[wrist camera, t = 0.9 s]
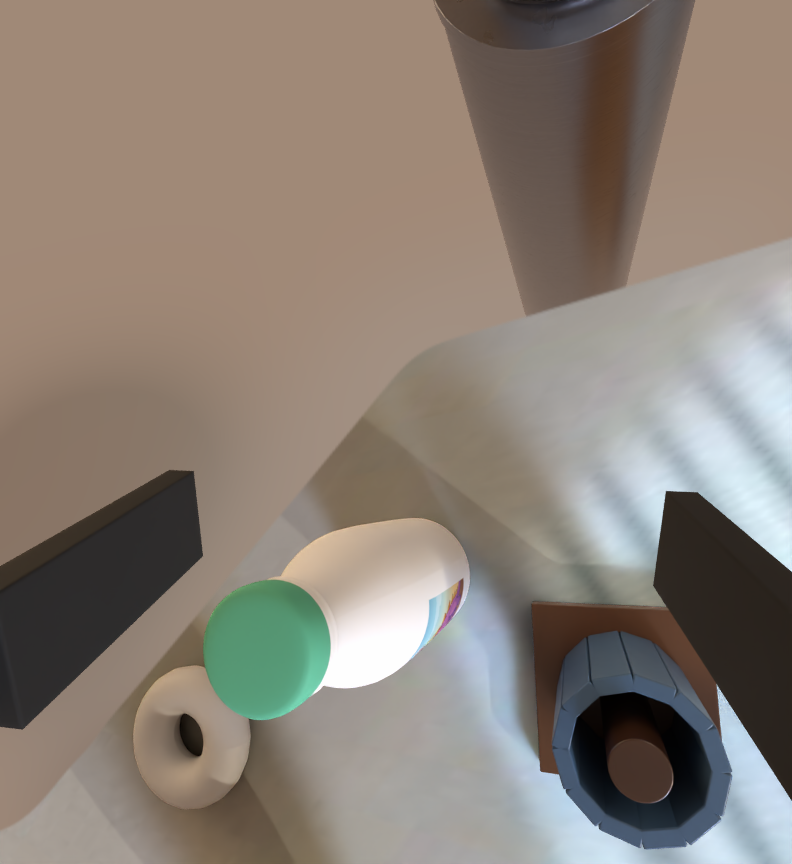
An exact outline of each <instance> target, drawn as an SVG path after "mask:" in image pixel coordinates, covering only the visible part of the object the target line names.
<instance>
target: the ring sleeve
mask: <svg viewBox="0 0 792 864" xmlns="http://www.w3.org/2000/svg"><path fill="white" fill-rule="evenodd" d="M633 691H634V692H636V693H639V694H642V695H645V696H647V697H650V698H653V699H656V700H658V701H661V702H664V703H667V704H669V705H670V706H671V707H672V708H673V709H674V710H675V714H674V718H673V723H672V727H671V728H670V729H669V730H668V731H667V732H665V733H664V734H663V735H662V736H661V738H662V740H663V743H664V746H665V749H666V752H667V755H668V757H669V760H670V763H671V766H672V769H673V775H674V780H673V786H672V788H671V791H670V792H669V794H668V795H667V796H666V797H665V798H664V799H662V800H660V801H658V802H655V803H640V802H636V801H634V800H631V799H630V798H628V797H626V796H625V795H624V794H622V793H621V792H620V791H619V790H618V789H617V787H616V786H615V785H614V783H613V782H612V780H611V778H610V775H609V772H608V766H607V757H606V748H605V740H604V739H603V738H601V737H598V736H597V734H596V733H595V732H594V731H593V730H592V729H591V728H590V727H589V726H588V725H587V724H586V723H585V722H584V720H583V719H582V718H581V717H580V716H579V715H580V714H581V713H582V712H583V711H585V710H586V709H587V708H588V707H589V706H590V705H591V704H592V703H593V702H594V701H596V700H597V699H598V698H599V697H600V696H606V695H613V694H620V693H626V692H633ZM552 751H553V755H554V758H555V762H556V765H557V768H558V772H559V775H560V779H561V782H562V786H563V788H564V789H566V793H567V795H568V796H569V797H570V798H571V799H572V800H573V801H574V803H575V804H576V805H577V806H578V807H579V808H580V810H581V811H582V812H583V813H584V814H585V815H586V816H587V818H588V819H589V820H590V821H591V822H592V823H593V824H594V826H597V825H598V824H599V829H600V830H601V831H603V832H606V833H608V834H610V835H612V836H614V837H617V838H619V839H621V840H623V841H625V842H627V843H630V844H632V845H634V846H636V847H638V848H641V846H642V844H643V847H644V849H660V848H675V847H686V846H687V843H686V841H687V842H688V843H689V844H690V845H692V844H693V843H694V842H695V841H697V840H698V839H699V838H700V837H702V836H703V835H704V834H705V833H706V832H708V831H709V830H710V829H711V828H712V827H714V826H715V825H716V824H717V823H719V822H720V821H721V818H720V816H723V815H724V812H725V807H726V803H727V798H728V794H729V789H730V785H731V780H732V775H731V773H730V772H732V769H731V766H730V763H729V761H728V758H727V755H726V752H725V749H724V746H723V744H722V741H721V738H720V735H719V732H718V729H717V728H716V726H715V724H714V723H713V721H712V719H711V718H710V716H709V714H708V713H707V711H706V709H705V708H704V706H703V704H702V703H701V701H700V699H699V698H698V696H697V694H696V693H695V691H694V689H693V688H692V686H691V684H690V683H689V681H688V680H687V678H686V676H685V675H684V673H683V671H682V670H681V668H680V667H679V666H678V665H677V664H676V663H675V662H674V661H673V660H672V659H671V658H670V657H669V656H668V655H667V654H666V653H665V652H664V651H663V650H662V649H661V648H660V647H659V646H658V645H657V644H655V643H652V641H650V640H647V639H644V638H641V637H638V636H635V635H632V634H629V633H626V632H623V631H620V633H618V631H612V632H606V633H601V634H595V635H590V636H588V639H587V638H586V637H585V638H584V639H583V640H582V641H581V642H580V643H578V644H577V645H576V646H575V647H574V648H573V649H572V650H571V651H570V652H569V653H568V654H567V655H566V656H565V658H564V659H563V664H562V668H561V672H560V676H559V681H558V685H557V694H556V705H555V715H554V725H553V736H552ZM719 815H720V816H719Z"/></svg>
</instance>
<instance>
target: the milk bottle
mask: <svg viewBox="0 0 792 864" xmlns="http://www.w3.org/2000/svg"><path fill="white" fill-rule="evenodd" d="M469 585H470V569H469V564H468V560H467V557H466V554H465V552H464V549H463V548H462V546H461V544H460V543H459V541H458V540H457V539H456V537H455V536H454V535H453V534H452V533H451V532H450V531H448V530H447V529H446V528H445V527H443V526H442V525H440V524H438V523H436V522H433V521H431V520H427V519H423V518H405V519H397V520H389V521H382V522H376V523H369V524H363V525H357V526H353V527H348V528H344V529H340V530H336V531H333V532H331V533H328V534H326V535H324V536H322V537H320V538H318V539H316V540H314V541H313V542H311V543H310V544H309V545H307V546H306V547H305V548H303V549H302V550H301V551H300V552H299V553H298V554H297V555H296V556H295V557H294V558H293V559H292V561H291V562H290V563H289V564H288V566H287V567H286V569H285V570H284V572H283V573H282V575H281V577H274V578H270V579H267V580H264V581H259V582H254V583H251V584H248V585H246V586H243V587H241V588H238V589H236V590H235V591H233V592H232V593H230V594H229V595H228V596H227V597H225V598H224V599H223V600H222V601H221V602H220V603H219V604H218V606H217V607H216V608H215V610H214V611H213V613H212V615H211V617H210V619H209V621H208V624H207V627H206V631H205V636H204V643H203V656H204V664H205V669H206V672H207V676H208V678H209V681H210V683H211V685H212V687H213V689H214V691H215V693H216V694H217V695H218V697H219V698H220V699H221V701H222V702H223V703H224V704H225V705H226V706H227V707H228V708H230V709H231V710H232V711H234V712H235V713H237V714H239V715H241V716H243V717H246V718H249V719H254V720H268V719H273V718H277V717H280V716H283V715H285V714H287V713H289V712H290V711H292V710H293V709H295V708H296V707H298V706H299V705H301V704H302V703H303V702H304V701H305V700H306V699H308V698H309V697H310V696H312V695H313V694H315V693H316V692H317V691H318V690H320V689H321V688H322V687H323V685H324V686H328V687H334V688H354V687H360V686H365V685H368V684H372V683H375V682H377V681H379V680H381V679H383V678H385V677H387V676H389V675H391V674H392V673H394V672H396V671H397V670H398V669H399V668H401V667H402V666H403V665H404V664H406V663H407V662H408V661H409V660H410V659H412V658H413V657H414V656H415V655H416V654H417V653H418V652H419V651H420V650H421V649H422V648H423V647H425V646H426V645H427V644H428V643H429V642H430V641H431V640H432V639H433V638H434V637H435V636H436V635H437V634H438V633H439V632H440V631H441V630H442V629H443V628H444V627H445V626H446V625H447V624H448V623H449V622H450V621H451V620H452V619H453V617H454V616H455V615H456V614H457V613H458V611H459V610H460V609H461V607H462V605H463V604H464V602H465V600H466V597H467V594H468V590H469Z"/></svg>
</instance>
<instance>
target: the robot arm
mask: <svg viewBox="0 0 792 864" xmlns="http://www.w3.org/2000/svg"><path fill="white" fill-rule="evenodd" d="M509 1H513V2H516V3H522V4H547V3H554V2H558V1H563V0H509ZM202 556H203V553H202V544H201V534H200V525H199V517H198V507H197V498H196V489H195V479H194V471H177V470H176V471H175V470H169V471H167V472H165V473H164V474H162V475H160V476H158V477H156V478H155V479H153V480H151V481H149V482H148V483H146V484H144V485H143V486H141V487H139V488H137V489H135V490H134V491H132V492H130V493H128V494H127V495H125V496H123V497H121V498H120V499H118V500H116V501H114V502H113V503H111V504H109V505H107V506H106V507H104V508H102V509H100V510H99V511H97V512H95V513H93V514H92V515H90V516H88V517H86V518H84V519H83V520H81V521H79V522H77V523H76V524H74V525H72V526H70V527H68V528H67V529H65V530H63V531H61V532H60V533H58V534H56V535H55V536H53V537H51V538H49V539H47V540H46V541H44V542H42V543H41V544H39V545H37V546H35V547H33V548H32V549H30V550H28V551H26V552H25V553H23V554H21V555H19V556H17V557H16V558H14V559H12V560H10V561H9V562H7V563H5V564H3V565H2V566H0V727H6V728H15V729H24V728H25V727H26V726H27V725H28V724H29V723H30V722H31V721H32V720H33V719H34V718H35V717H36V716H37V715H38V714H39V713H40V712H41V711H42V710H43V709H44V708H45V707H46V706H48V705H49V704H50V703H51V701H53V700H54V699H55V698H56V697H57V696H58V695H59V694H60V693H61V692H62V691H63V690H64V689H65V688H66V687H67V686H68V685H69V684H70V683H71V682H72V681H74V680H75V679H76V678H77V677H78V676H79V675H80V674H81V673H82V672H83V671H84V670H85V669H86V668H87V667H88V666H89V665H90V664H91V663H92V662H93V661H94V660H95V659H96V658H97V657H98V656H100V654H102V653H103V652H104V651H105V650H106V649H107V648H108V647H109V646H110V645H111V644H112V643H113V642H114V641H115V640H116V639H117V638H118V637H119V636H120V635H121V634H122V633H123V632H124V631H125V630H127V628H129V627H130V625H132V624H133V623H134V622H135V621H136V620H137V619H138V618H139V617H140V616H141V615H142V614H143V613H144V612H145V611H146V610H147V609H148V608H149V607H150V606H151V605H152V604H153V603H155V602H156V600H158V599H159V598H160V597H161V596H162V595H163V594H164V593H165V592H166V591H167V590H168V589H169V588H170V587H171V586H172V585H173V584H174V583H175V582H176V581H177V580H179V579H180V578H181V577H182V576H183V575H184V574H185V573H186V572H187V571H188V570H189V569H190V568H191V567H192V566H193V565H194V564H195V563H196V562H197V561H198V560H199V559H200V558H201V557H202ZM653 586H654V588H655V589H656V591H657V592H658V594H659V595H660V597H661V598H662V600H663V602H664V603H665V605H666V606H667V608H668V609H669V611H670V612H671V614H672V616H673V617H674V619H675V620H676V622H677V623H678V625H679V626H680V628H681V630H682V631H683V633H684V634H685V636H686V637H687V639H688V640H689V642H690V643H691V645H692V647H693V648H694V650H695V651H696V653H697V654H698V656H699V657H700V659H701V661H702V662H703V664H704V665H705V667H706V668H707V670H708V671H709V673H710V675H711V676H712V678H713V679H714V681H715V682H716V684H717V685H718V687H719V689H720V690H721V692H722V693H723V695H724V696H725V698H726V699H727V701H728V702H729V704H730V706H731V707H732V709H733V710H734V712H735V713H736V715H737V716H738V718H739V720H740V721H741V723H742V724H743V726H744V727H745V729H746V730H747V732H748V734H749V735H750V737H751V738H752V740H753V741H754V743H755V744H756V746H757V748H758V749H759V751H760V752H761V754H762V755H763V757H764V758H765V760H766V761H767V763H768V765H769V766H770V768H771V769H772V771H773V772H774V774H775V775H776V777H777V779H778V780H779V782H780V783H781V785H782V786H783V788H784V789H785V791H786V793H787V794H788V796H789V797H790V799H791V800H792V572H791V571H790V570H789V569H788V568H786V567H785V566H784V565H783V564H782V563H780V562H779V561H778V560H777V559H776V558H775V557H773V556H772V555H771V554H770V553H769V552H767V551H766V550H765V549H764V548H763V547H762V546H760V545H759V544H758V543H757V542H756V541H754V540H753V539H752V538H751V537H750V536H748V535H747V534H746V533H745V532H744V531H743V530H741V529H740V528H739V527H738V526H737V525H735V524H734V523H733V522H732V521H731V520H730V519H728V518H727V517H726V516H725V515H724V514H722V513H721V512H720V511H719V510H718V509H716V508H715V507H714V506H713V505H712V504H711V503H709V502H708V501H707V500H706V499H705V498H703V497H702V496H701V495H700V494H699V493H698V492H674V491H666V495H665V503H664V510H663V517H662V525H661V532H660V540H659V547H658V555H657V562H656V569H655V577H654V584H653Z"/></svg>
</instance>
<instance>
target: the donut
mask: <svg viewBox="0 0 792 864" xmlns="http://www.w3.org/2000/svg"><path fill="white" fill-rule="evenodd" d="M185 713H186V714H189V715H190V716H191V717H193V718H194V719H195V720H196V722H197V723H198V724H199V726H200V728H201V731H202V734H203V742H204V745H203V753H202V755H201V756H196V755H193V754H192V753H191V752H189V751H188V750H187V748H186V747H185V745H184V744H183V741H182V738H181V736H180V720H181V717H182V715H183V714H185ZM250 739H251V733H250V725H249V718H246V717H243V716H241V715H239V714H237V713H235V712H234V711H232V710H231V709H230V708H228V707H227V706H226V705H225V704H224V703H223V702H222V701H221V699H220V698H219V697H218V695H217V694H216V693H215V691H214V689H213V687H212V685H211V683H210V681H209V678H208V676H207V672H206V669H205V667H201V666H198V665H194V666H186V667H179V668H175V669H174V670H172V671H170V672H169V673H167V674H165V675H163V676H162V677H160V678H159V679H157V680H156V682H155V683H154V684H153V685H152V686H151V688H150V689H149V690H148V691H147V692H146V694H145V695H144V697H143V699H142V701H141V704H140V706H139V708H138V711H137V713H136V718H135V725H134V731H133V743H134V755H135V759H136V762H137V765H138V768H139V771H140V774H141V776H142V777H143V779H144V780H145V782H146V784H147V785H148V787H149V789H150V790H151V791H152V792H154V793H155V794H156V795H157V796H158V797H159V798H160V799H161V800H162V801H164V802H165V803H167V804H169V805H172V806H174V807H177V808H179V809H203V808H205V807H207V806H209V805H211V804H213V803H215V802H217V801H219V800H221V799H222V798H224V796H225V795H226V794H227V793H228V792H229V791H230V790H231V789H232V787H233V786H234V785H235V784H236V783H237V782H238V780H239V779H240V776H241V774H242V772H243V769H244V767H245V765H246V762H247V759H248V755H249V747H250Z"/></svg>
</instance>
